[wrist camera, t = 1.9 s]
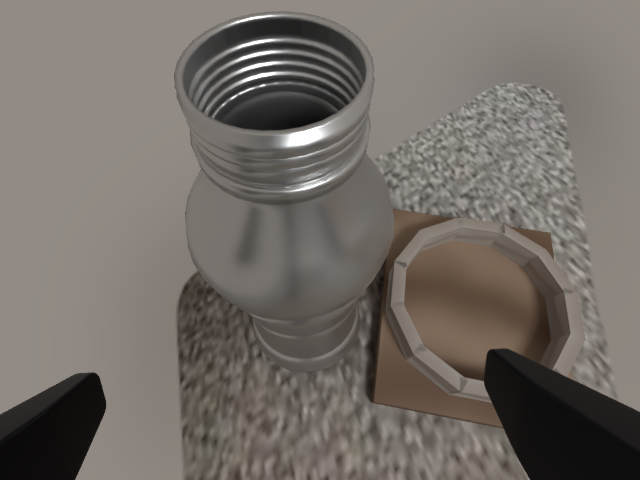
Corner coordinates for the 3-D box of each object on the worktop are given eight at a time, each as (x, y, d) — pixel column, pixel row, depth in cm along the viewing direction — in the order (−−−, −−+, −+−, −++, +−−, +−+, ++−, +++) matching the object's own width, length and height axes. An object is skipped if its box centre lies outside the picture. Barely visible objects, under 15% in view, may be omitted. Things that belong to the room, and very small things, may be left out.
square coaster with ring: (568, 441, 21) (607, 444, 18) (371, 402, 22) (379, 399, 19) (541, 240, 27) (566, 219, 24) (389, 217, 28) (397, 194, 25)
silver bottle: (364, 369, 23) (523, 185, 5) (261, 384, 22) (43, 242, 5) (347, 278, 26) (409, -35, 8) (256, 290, 25) (111, -15, 8)
